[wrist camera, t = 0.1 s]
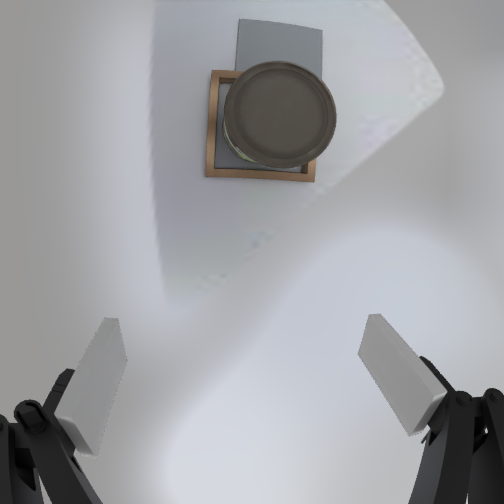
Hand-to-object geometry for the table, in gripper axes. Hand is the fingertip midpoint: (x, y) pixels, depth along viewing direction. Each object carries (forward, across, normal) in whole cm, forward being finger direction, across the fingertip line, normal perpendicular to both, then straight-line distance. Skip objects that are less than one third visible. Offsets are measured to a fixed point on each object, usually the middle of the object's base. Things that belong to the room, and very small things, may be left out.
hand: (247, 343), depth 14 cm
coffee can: (+28, +4, +13) cm, 31 cm away
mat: (+28, +6, +25) cm, 38 cm away
